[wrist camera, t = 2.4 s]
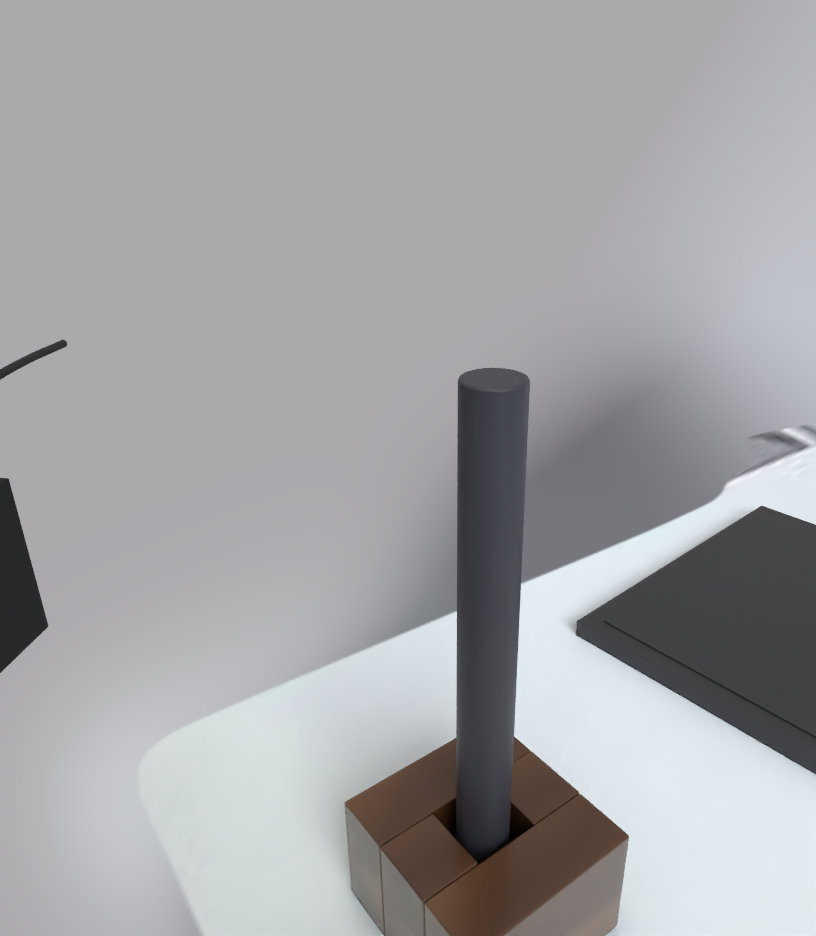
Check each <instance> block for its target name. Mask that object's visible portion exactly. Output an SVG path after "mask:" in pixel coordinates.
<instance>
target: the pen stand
mask: <svg viewBox="0 0 816 936" xmlns="http://www.w3.org/2000/svg"><path fill="white" fill-rule="evenodd" d="M456 746H457V738H455V739H454V740H452V741H450V742H449V743H447V744H445V745H443V746H442V747H440V748H438V749H436V750H435V751H433V752H431V753H429V754H428V755H426V756H424V757H422V758H421V759H419V760H417V761H416V762H414V763H412V764H410V765H409V766H407V767H405V768H403V769H402V770H400V771H398V772H396V773H395V774H393V775H391V776H390V777H388V778H386V779H384V780H383V781H381V782H379V783H377V784H376V785H374V786H372V787H370V788H369V789H367V790H365V791H364V792H362V793H360V794H358V795H357V796H355V797H353V798H351V799H350V800H348V801H346V802H345V814H346V826H347V838H348V851H349V863H350V875H351V888H352V891H353V892H354V894H355V895H356V896H357V898H358V899H359V901H360V902H361V903H362V905H363V906H364V908H365V909H366V910H367V912H368V913H369V914H370V916H371V917H372V919H373V920H374V921H375V923H376V924H377V926H378V927H379V928H380V930H381V931H382V933H383V934H384V935H385V936H605V935H606V934H607V933H608V932H609V931H610V930H612V929H613V928H614V927H615V926H616V925H617V920H618V912H619V905H620V898H621V891H622V884H623V876H624V869H625V862H626V855H627V848H628V841H629V836H628V834H626V833H625V832H624V831H623V830H622V829H621V828H619V827H618V826H617V825H616V824H615V823H614V822H612V821H611V820H610V819H609V818H608V817H607V816H605V815H604V814H603V813H602V812H601V811H600V810H598V809H597V808H596V807H595V806H594V805H593V804H591V803H590V802H589V801H588V800H587V799H586V798H584V797H583V796H582V795H580V794H579V792H578V791H577V790H576V789H575V788H573V787H572V786H571V785H570V784H569V783H568V782H566V781H565V780H564V779H563V778H562V777H561V776H559V775H558V774H557V773H556V772H555V771H554V770H552V769H551V768H550V767H549V766H548V765H547V764H545V763H544V762H543V761H542V760H541V759H540V758H538V757H537V756H536V755H535V754H534V753H533V752H530V750H529V749H528V748H527V747H526V746H524V745H523V744H522V743H521V742H520V741H519V740H517V739H516V738H515V737H514V743H513V765H512V787H511V809H510V831H509V844H507V845H506V846H504V847H503V848H502V849H500V850H499V851H497V852H496V853H495V854H493V855H492V856H490V857H489V858H487V859H486V860H485V861H483V862H482V863H480V864H479V865H478V863H477V861H476V860H475V859H474V858H473V857H472V856H471V855H470V854H469V853H468V852H467V850H466V849H465V848H464V847H463V846H462V845H461V844H460V843H459V842H458V841H457V840H456Z"/></svg>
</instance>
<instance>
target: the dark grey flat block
mask: <svg viewBox="0 0 816 936" xmlns="http://www.w3.org/2000/svg"><path fill="white" fill-rule="evenodd" d="M576 634H577V635H579V636H580V637H582V638H584V639H585V640H587V641H589V642H591V643H592V644H594V645H596V646H597V647H599V648H601V649H603V650H604V651H606V652H608V653H610V654H611V655H613V656H615V657H616V658H618V659H620V660H622V661H623V662H625V663H627V664H628V665H630V666H632V667H634V668H635V669H637V670H639V671H640V672H642V673H644V674H646V675H647V676H649V677H651V678H653V679H654V680H656V681H658V682H659V683H661V684H663V685H665V686H666V687H668V688H670V689H671V690H673V691H675V692H677V693H678V694H680V695H682V696H684V697H685V698H687V699H689V700H690V701H692V702H694V703H696V704H697V705H699V706H701V707H702V708H704V709H706V710H708V711H709V712H711V713H713V714H715V715H716V716H718V717H720V718H721V719H723V720H725V721H727V722H728V723H730V724H732V725H733V726H735V727H737V728H739V729H740V730H742V731H744V732H746V733H747V734H749V735H751V736H752V737H754V738H756V739H758V740H759V741H761V742H763V743H764V744H766V745H768V746H770V747H771V748H773V749H775V750H776V751H778V752H780V753H782V754H783V755H785V756H787V757H789V758H790V759H792V760H794V761H795V762H797V763H799V764H801V765H802V766H804V767H806V768H807V769H809V770H811V771H813V772H814V773H816V525H814V524H812V523H809V522H806V521H803V520H800V519H797V518H795V517H792V516H789V515H786V514H783V513H781V512H778V511H775V510H772V509H769V508H767V507H764V506H760V507H759V508H757V509H756V510H754V511H752V512H751V513H749V514H748V515H746V516H744V517H743V518H741V519H740V520H738V521H736V522H735V523H733V524H732V525H730V526H728V527H727V528H725V529H724V530H722V531H720V532H719V533H717V534H716V535H714V536H712V537H711V538H709V539H708V540H706V541H704V542H703V543H701V544H700V545H698V546H696V547H695V548H693V549H692V550H690V551H688V552H687V553H685V554H684V555H682V556H680V557H679V558H677V559H676V560H674V561H672V562H671V563H669V564H668V565H666V566H664V567H663V568H661V569H660V570H658V571H656V572H655V573H653V574H652V575H650V576H648V577H647V578H645V579H644V580H642V581H640V582H639V583H637V584H636V585H634V586H632V587H631V588H629V589H628V590H626V591H624V592H623V593H621V594H620V595H618V596H616V597H615V598H613V599H612V600H610V601H608V602H607V603H605V604H604V605H602V606H600V607H599V608H597V609H596V610H594V611H592V612H591V613H589V614H588V615H586V616H584V617H583V618H581V619H580V620H578V621H577V630H576Z"/></svg>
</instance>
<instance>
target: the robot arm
mask: <svg viewBox="0 0 816 936" xmlns="http://www.w3.org/2000/svg"><path fill="white" fill-rule="evenodd" d="M66 346H67V342H66V341H65V340H61V341H59V342H56V343H54V344H52V345H49V346H47V347H45V348H42V349H40V350H38V351H35V352H33V353H31V354H29V355H27V356H25V357H23V358H21V359H19V360H17V361H15V362H13V363H11V364H9V365H7V366H5V367H4V368H2V369H0V379H2V378H4V377H5V376H7V375H9V374H10V373H12V372H14V371H16V370H17V369H19V368H21V367H23V366H25V365H27V364H29V363H30V362H33V361H35V360H37V359H39V358H41V357H43V356H46V355H48V354H50V353H52V352H55V351H57V350H59V349H62V348H64V347H66ZM47 627H48V623H47V619H46V616H45V612H44V609H43V605H42V601H41V597H40V593H39V590H38V586H37V582H36V579H35V575H34V571H33V568H32V564H31V560H30V557H29V553H28V549H27V545H26V542H25V538H24V534H23V531H22V527H21V524H20V519H19V516H18V512H17V508H16V505H15V501H14V497H13V493H12V490H11V486H10V483H9V479H7V478H0V673H1V672H2V671H3V670H4V669H5V668H6V667H7V666H8V665H9V664H10V663H11V662H12V661H13V660H14V659H15V658H16V657H17V656H18V655H19V654H20V653H21V652H22V651H23V650H24V649H25V648H26V647H27V646H28V645H30V644H31V643H32V642H33V641H34V640H35V639H36V638H37V637H38V636H39V635H40V634H41V633H42V632H43V631H44V630H45V629H46V628H47Z"/></svg>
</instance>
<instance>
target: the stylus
mask: <svg viewBox="0 0 816 936" xmlns="http://www.w3.org/2000/svg"><path fill="white" fill-rule="evenodd" d="M529 391H530V380H529V378H528V376H527V375H525V374H523V373H521V372H518V371H515V370H510V369H503V368H483V369H476V370H472V371H468V372H466V373H464V374H462V375H461V376H460V377H459V379H458V495H457V496H458V498H457V501H458V502H457V504H458V507H457V746H456V840H457V841H458V842H459V843H460V844H461V845H462V846H463V847H464V848H465V849H466V850H467V852H468V853H469V854H470V855H471V856H472V857H473V858H474V859H475V860H476V861H477V863H478V865H479V864H480V863H482V862H483V861H485V860H486V859H487V858H489V857H490V856H492V855H493V854H495V853H496V852H497V851H499V850H500V849H502V848H503V847H504V846H506V845H507V844H509V831H510V809H511V787H512V765H513V743H514V721H515V699H516V677H517V655H518V633H519V611H520V589H521V567H522V545H523V544H522V543H523V523H524V501H525V479H526V457H527V434H528V433H527V432H528V412H529Z"/></svg>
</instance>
